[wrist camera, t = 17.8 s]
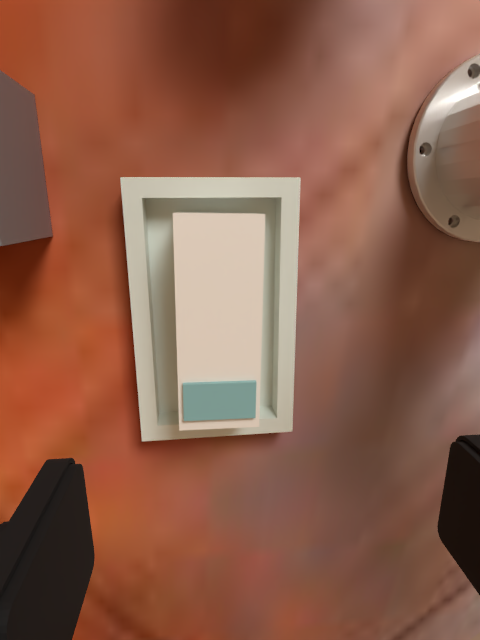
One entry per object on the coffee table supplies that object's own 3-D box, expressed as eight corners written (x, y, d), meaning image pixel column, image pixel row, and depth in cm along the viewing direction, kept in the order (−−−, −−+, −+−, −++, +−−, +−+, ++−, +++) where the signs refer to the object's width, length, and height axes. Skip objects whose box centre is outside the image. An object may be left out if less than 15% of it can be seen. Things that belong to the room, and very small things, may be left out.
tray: (291, 180, 28) (300, 177, 25) (285, 415, 33) (292, 431, 30) (126, 180, 27) (120, 177, 24) (145, 423, 32) (141, 441, 29)
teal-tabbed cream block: (250, 213, 28) (266, 214, 22) (247, 386, 31) (260, 429, 25) (177, 212, 27) (172, 212, 21) (181, 388, 30) (179, 433, 24)
